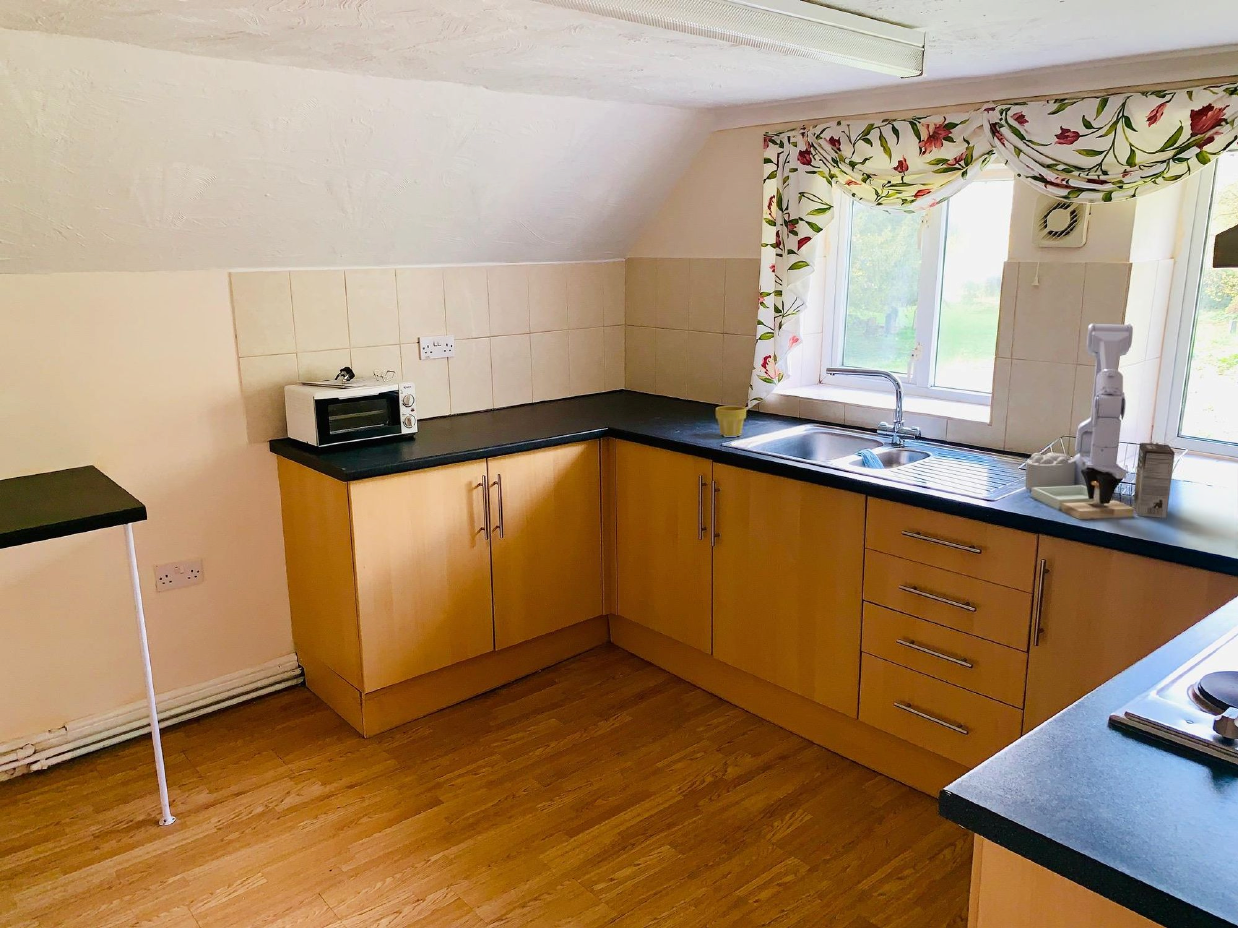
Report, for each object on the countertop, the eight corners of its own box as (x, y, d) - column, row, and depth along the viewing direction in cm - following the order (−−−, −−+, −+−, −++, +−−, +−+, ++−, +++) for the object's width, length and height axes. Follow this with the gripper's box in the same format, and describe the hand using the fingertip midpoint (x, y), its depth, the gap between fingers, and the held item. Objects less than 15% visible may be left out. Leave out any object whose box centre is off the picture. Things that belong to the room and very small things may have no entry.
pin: (1084, 511, 229) (1088, 479, 227) (1099, 511, 229) (1103, 479, 227) (1094, 516, 225) (1098, 483, 223) (1110, 515, 225) (1114, 483, 224)
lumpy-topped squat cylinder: (1080, 486, 251) (1082, 454, 249) (1050, 494, 245) (1051, 462, 243) (1044, 479, 260) (1046, 448, 258) (1014, 487, 253) (1016, 456, 251)
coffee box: (1131, 506, 233) (1139, 442, 230) (1161, 508, 231) (1169, 444, 227) (1136, 515, 225) (1144, 449, 221) (1167, 518, 223) (1175, 451, 219)
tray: (1030, 497, 242) (1031, 487, 242) (1081, 494, 244) (1082, 485, 244) (1058, 509, 231) (1059, 499, 230) (1110, 506, 233) (1112, 497, 232)
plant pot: (710, 434, 327) (710, 406, 325) (738, 432, 330) (738, 404, 328) (722, 440, 318) (723, 411, 315) (750, 437, 321) (751, 409, 318)
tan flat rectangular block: (1061, 511, 229) (1062, 503, 229) (1114, 508, 231) (1115, 500, 231) (1079, 519, 223) (1080, 511, 222) (1133, 516, 225) (1134, 508, 224)
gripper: (1070, 440, 230) (1065, 493, 233) (1108, 452, 216) (1102, 509, 219) (1097, 438, 231) (1091, 492, 234) (1137, 451, 217) (1130, 508, 220)
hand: (1098, 500), depth 226 cm, fingers closed on pin, 4 cm apart
